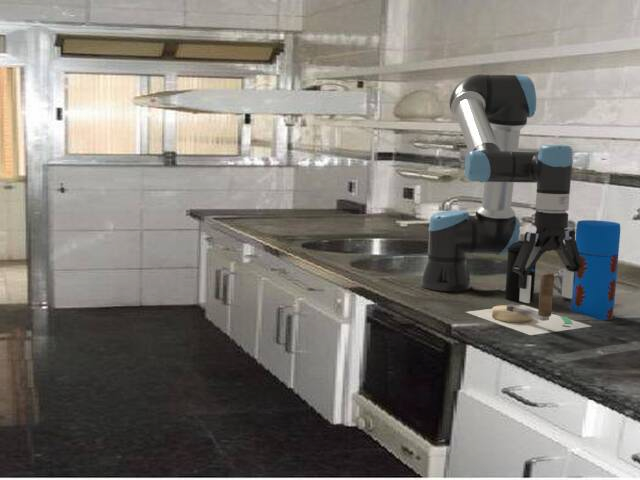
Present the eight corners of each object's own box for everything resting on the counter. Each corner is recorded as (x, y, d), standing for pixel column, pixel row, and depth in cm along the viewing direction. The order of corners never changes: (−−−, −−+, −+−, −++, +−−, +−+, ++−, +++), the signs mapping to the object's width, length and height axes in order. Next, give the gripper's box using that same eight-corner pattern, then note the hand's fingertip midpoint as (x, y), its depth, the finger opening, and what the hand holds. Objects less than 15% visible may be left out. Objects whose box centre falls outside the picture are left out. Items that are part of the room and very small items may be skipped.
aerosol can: (505, 306, 215) (509, 235, 212) (502, 300, 223) (506, 231, 220) (535, 308, 214) (540, 236, 211) (531, 301, 222) (536, 232, 219)
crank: (483, 314, 198) (486, 263, 196) (513, 311, 203) (516, 261, 201) (532, 331, 183) (536, 276, 181) (563, 327, 188) (567, 273, 186)
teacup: (587, 295, 232) (589, 269, 231) (601, 303, 221) (603, 276, 220) (541, 294, 232) (542, 268, 230) (553, 303, 221) (555, 275, 220)
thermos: (561, 313, 209) (568, 221, 205) (588, 309, 214) (595, 219, 210) (594, 322, 200) (602, 226, 196) (621, 318, 205) (629, 224, 201)
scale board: (464, 317, 202) (465, 311, 202) (526, 309, 212) (527, 303, 212) (531, 341, 181) (531, 334, 180) (596, 331, 191) (597, 325, 190)
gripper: (522, 214, 173) (517, 307, 176) (602, 211, 185) (595, 298, 188) (500, 211, 180) (495, 300, 183) (578, 208, 191) (572, 292, 194)
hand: (545, 299), depth 185 cm, fingers open, 13 cm apart
